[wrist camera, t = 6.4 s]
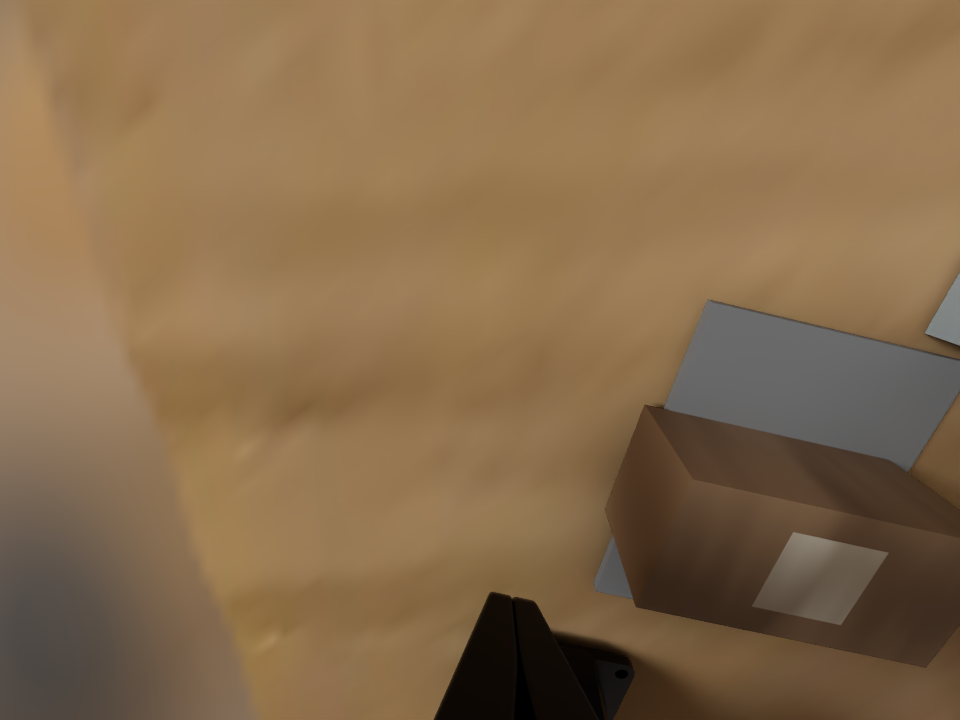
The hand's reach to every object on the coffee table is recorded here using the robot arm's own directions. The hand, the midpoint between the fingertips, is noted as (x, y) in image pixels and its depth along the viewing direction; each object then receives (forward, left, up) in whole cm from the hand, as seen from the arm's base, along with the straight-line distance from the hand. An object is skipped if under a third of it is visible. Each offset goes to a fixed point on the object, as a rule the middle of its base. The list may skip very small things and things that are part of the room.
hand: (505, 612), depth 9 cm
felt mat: (0, -9, -7) cm, 11 cm away
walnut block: (0, -4, -5) cm, 6 cm away
